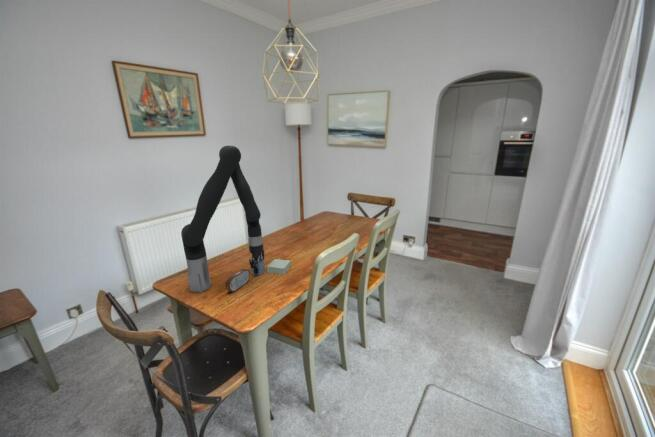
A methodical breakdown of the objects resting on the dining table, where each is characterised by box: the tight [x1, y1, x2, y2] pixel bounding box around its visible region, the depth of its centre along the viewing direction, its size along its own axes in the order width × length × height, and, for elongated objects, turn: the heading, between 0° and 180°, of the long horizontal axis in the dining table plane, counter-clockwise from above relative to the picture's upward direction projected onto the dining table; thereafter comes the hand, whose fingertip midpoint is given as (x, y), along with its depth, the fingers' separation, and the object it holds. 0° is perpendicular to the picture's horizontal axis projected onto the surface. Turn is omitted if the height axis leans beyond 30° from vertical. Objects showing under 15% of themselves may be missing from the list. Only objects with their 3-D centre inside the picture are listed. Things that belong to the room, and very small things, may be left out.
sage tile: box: [266, 258, 292, 275], centre depth 161 cm, size 10×10×4 cm
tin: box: [224, 268, 251, 292], centre depth 142 cm, size 15×3×8 cm, turn 153°
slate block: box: [251, 259, 266, 276], centre depth 157 cm, size 5×5×7 cm
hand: (258, 271), depth 158 cm, fingers closed on slate block, 5 cm apart
